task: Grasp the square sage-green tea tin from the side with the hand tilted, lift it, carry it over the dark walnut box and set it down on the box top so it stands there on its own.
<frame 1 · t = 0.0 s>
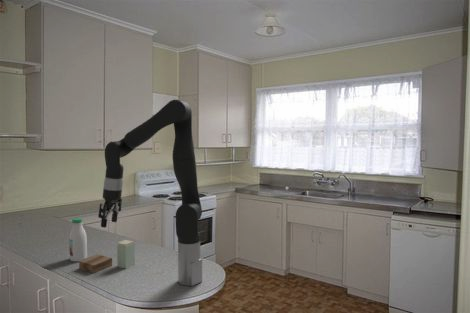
hand: (109, 224, 152), 22 cm above the worktop, tool pointing down, fingers open, 8 cm apart
walnut box: (96, 268, 162), on the worktop
milk bottle: (78, 259, 172), on the worktop
tea tin: (126, 265, 164), on the worktop
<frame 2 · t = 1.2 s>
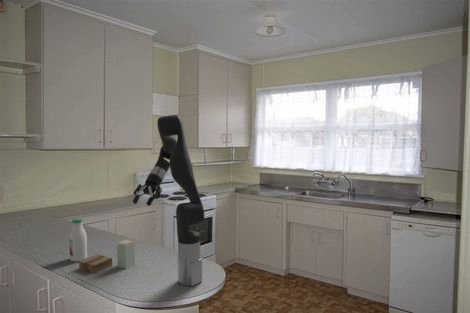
hand: (140, 204, 171), 27 cm above the worktop, tool tilted 45°, fingers open, 8 cm apart
nothing on the worktop moved.
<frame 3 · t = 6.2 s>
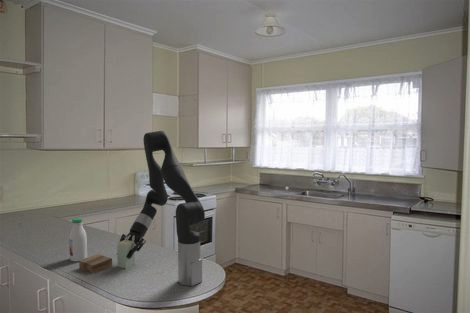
hand: (123, 256, 162), 5 cm above the worktop, tool tilted 45°, fingers closed on tea tin, 5 cm apart
tea tin: (126, 265, 164), on the worktop, touching gripper
everything else where it was.
when the fingers open (10 cm above the worktop, at t = 10.7 s): tea tin drops 1 cm, point 4 cm above the worktop.
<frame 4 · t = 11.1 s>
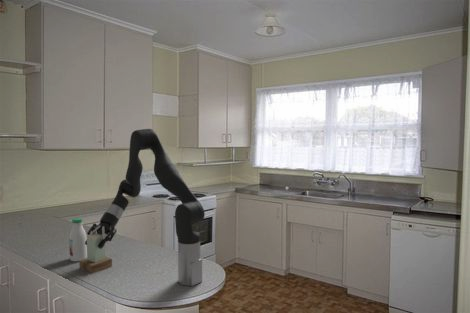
hand: (92, 246, 160), 10 cm above the worktop, tool tilted 45°, fingers open, 8 cm apart
tea tin: (96, 259, 162), point 4 cm above the worktop
everything else where it was.
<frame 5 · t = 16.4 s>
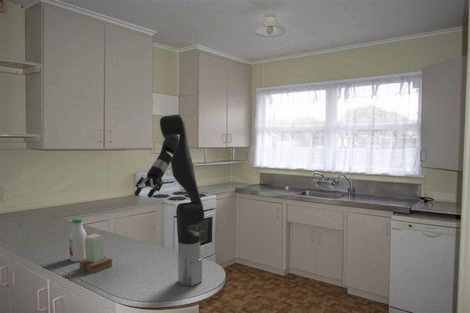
hand: (142, 196, 172), 31 cm above the worktop, tool tilted 45°, fingers open, 8 cm apart
walnut box: (95, 268, 162), on the worktop, touching tea tin
tea tin: (95, 259, 161), point 4 cm above the worktop, touching walnut box
everything else where it was.
at the end: tea tin inside the target area on the walnut box (0.3 cm from its centre), point 4.0 cm above the walnut box's base; tea tin tilted 1°; the gripper is holding nothing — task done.
